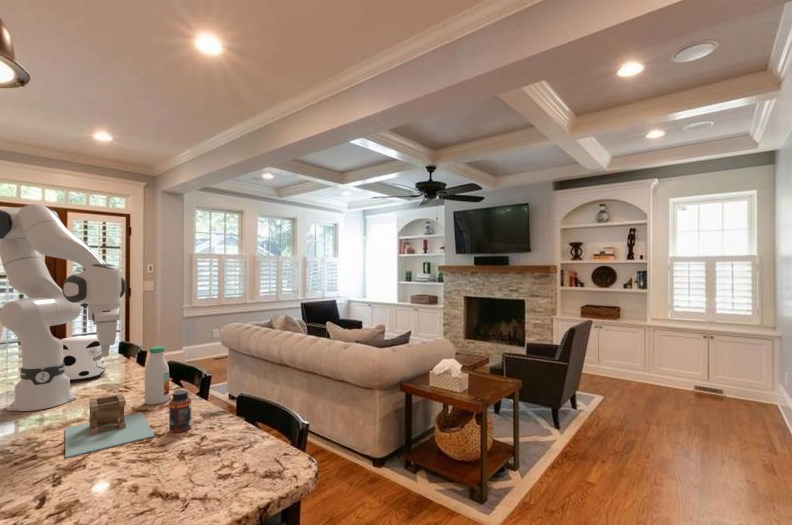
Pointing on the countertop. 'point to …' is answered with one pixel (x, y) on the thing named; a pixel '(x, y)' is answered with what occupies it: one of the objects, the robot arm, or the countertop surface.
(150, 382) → the milk bottle
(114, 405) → the open wooden box
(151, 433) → the mat
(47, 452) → the countertop surface
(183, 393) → the supplement bottle
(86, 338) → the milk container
